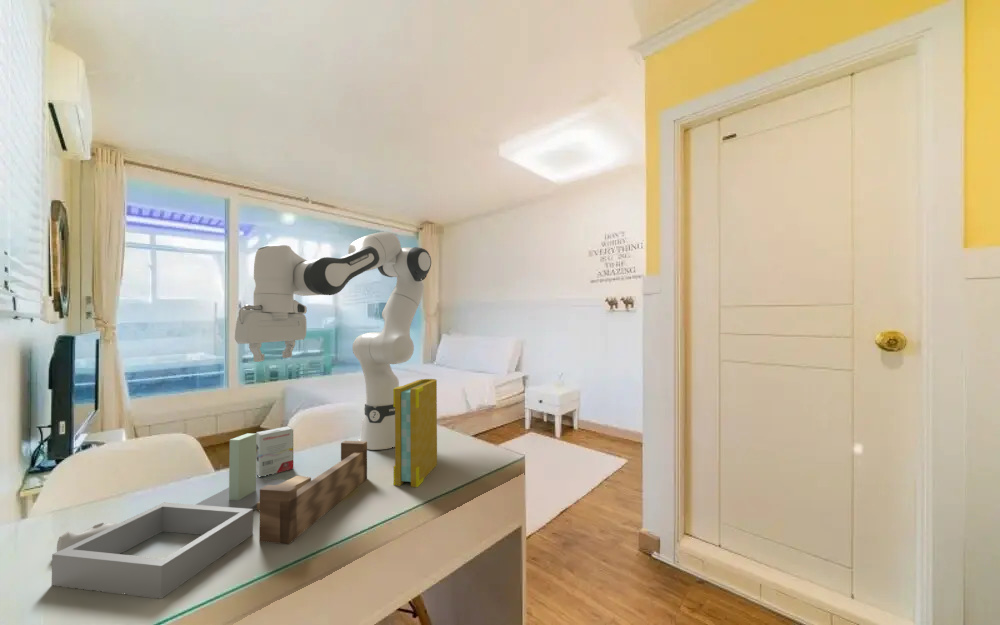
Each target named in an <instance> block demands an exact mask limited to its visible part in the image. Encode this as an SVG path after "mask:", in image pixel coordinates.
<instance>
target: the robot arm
mask: <svg viewBox="0 0 1000 625" xmlns="http://www.w3.org/2000/svg"><path fill="white" fill-rule="evenodd" d="M401 246H402V245H401V242H400V240H399V238H398V237H397V235H396V234H394V233H393V232H390V231H381V232H380V231H379V232H374V233H370V234H367V235H365V236H362V237H360V238H357V239H356V240H354V241H353V242H352V243H350V244H349V245H348V251H347V253H348V254H346V255H344V256H341V257H337V258H336V257H329V256H327V257H320V258H318V259H317V258H316V259H312V260H307V259H305V258H303V257H301V256H300V255H298V254H297V253H296V252H295V251H294V250H293V249H292V247H291V246H290V245H286V244H269V245H264V246H261V247H259V248H257V250H256V253H255V256H254V263H253V264H254V265H253V280H254V283H255V287H254V291H253V305H250V304H245V305H243V306H242V307H240V309H238V314H237V315H238V316H237V320H236V323H235V329H234V330H235V331H234V340H235V342H236V343H237V344H238V345H239V344H240V345H244V344H245V345H248V346H249V347H248V349H249V350H250V352H251V354H252V355H253V362H254V363H255V362H257V363H260V362H264V361H265V353H262V350H261V348H262V344H263V343H274V342H275V343H277V342H284V345H285V348H284V350H282V351H281V352H282V353H281V354H282V355H281V356H282V358H283V359H289V358H292V357H293V350H294V348H295V346H296V341H303V340H305V338H306V336H307V327H308V326H307V317H306V315H305V314H307V311H308V310H307V309H308V308H307V306H306V305H304V304H303V303H300V302H299V301H297V300H296V299H294V298H295V297H294V295H297V296H301V297H302V296H303V297H304V296H333V295H336V294H338V293H340V292H342V290H343V289H344V288H345V287H346V285H348V282H350V281H351V280H352V279H354V278H356V277H357V276H359V275H360V274H363V273H364V272H368V271H371V270H375V269H377V270H378V271H379V273H380V274H381V275H382V276H384V277H387V278H396V283H395V287H394V288H393V290H392V291H391V294H390V295H389V297H388V299H387V301H386V304H385V305H384V307H383V310H382V312H381V316H382V319H383V321H384V325H383V328H382V330H381V331H380V332H379V331H378V332H376V331H375V332H373V331H372V332H366V333H362V334H360V335H358V336H357V337H356V338H355V339H354V341H353V343H352V353H353V354H354V356H355V357H356V359H357V360H358V362H359V364H360V367H361V369H362V373H363V376H364V381H365V382H364V383H365V404H364V409H363V411H364V415H365V416H364V417H363V418H362V419H361V425H360V426H361V427H360V435H359V438H357V440H356V441H366V442H367V450H370V451H371V450H372V451H373V450H374V451H375V450H376V451H377V450H387V449H393V448H395V407H393V389H394V388H397V387H399V386H400V384H399V383H400V382H399V378H398V377H397V375H395V373H394V371H393V370H392V367H391V365H397V364H398V365H399V364H402V363H406V362H408V361H409V360H410V359H411V358H412V356H413V354H414V350H415V349H414V348H415V345H414V342H413V340H412V338H411V336H410V335H411V334H410V333H411V332H410V329H411V326H412V322H413V321H414V318H415V315H416V312H417V309H418V308H419V306H420V303H421V300H422V297H423V292H424V288H425V287H424V282H422V281H424V280H425V279H426V278H427V275H428V273H429V272H430V270H431V267H432V258H431V255H430V253H429V251H428V250H427V249H426V248H423V247H418V246H415V247H408V246H407V247H401ZM392 447H393V448H392Z"/></svg>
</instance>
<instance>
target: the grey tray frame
mask: <svg viewBox="0 0 1000 625" xmlns="http://www.w3.org/2000/svg"><path fill="white" fill-rule="evenodd" d="M253 519H254V510H253V509H246V508H233V507H219V506H206V505H195V504H189V503H177V502H176V503H175V502H163V503H160V504H158V505H156V506H153V507H152V508H150V509H147V510H145V511H143V512H140V513H139V514H136V515H134V516H133V517H130V518H128V519H125V520H124V521H121V522H119V523H117V525H115V526H112V527H110V528H108V529H106V530H104V531H102V532H99V533H97V534H95V535H93V536H91V537H89V538H87V539H84V540H82V541H80V542H78V543H76V544H74V545H71V546H69V547H67V548H65V549H63V550H61V551H58V552H57V551H56V552H55V553H52V555H51V586H52V585H54V586H53V587H59V586H62V587H61V588H67V587H71V588H70V589H75V588H78V589H77V590H83V589H84V591H85V590H86V591H92V590H98V591H97V592H100V591H102V592H101V593H109V594H118V595H125V594H129V595H128V596H134V597H140V598H141V597H144V598H151V599H157V598H159V599H158V600H161V599H160V598H162V597H163V598H164V597H166V596H167V595H169V594H170V593H172V592H173V591H175V590H176V589H177V588H179V587H180V586H181V585H183V584H185V583H186V582H187V581H189V580H190V579H192V578H193V577H194V576H196V575H197V574H199V573H200V572H201V571H202V570H204V569H206V568H207V567H208V566H210V565H211V564H212V563H214V562H216V561H217V560H218V559H220V558H221V557H222V556H224V555H225V554H227V553H228V552H230V551H232V549H234V548H235V547H237V546H238V545H239V544H241V543H242V542H244V541H245V540H247V539H248V538H249V537H251V536H252V535H253V528H254V520H253ZM163 532H164V533H165V532H168V533H178V534H179V533H180V534H190V535H199V536H198V537H197V538H196V539H194V540H192V541H190V542H189V543H187V544H186V545H184V546H183V547H181V548H179V549H177V550H176V551H174V552H173V553H170V554H169V555H167V556H166V557H164V558H163V557H162V558H161V557H160V558H158V557H151V556H150V557H149V556H141V555H131V554H122V553H124V552H127V551H128V550H130V549H131V548H133V547H135V546H137V545H139V544H141V543H143V542H145V541H146V540H149V539H150V538H153V537H154V536H157V535H158V534H159V533H163ZM55 585H56V586H55ZM122 593H123V594H122ZM124 593H125V594H124ZM163 598H162V599H163Z"/></svg>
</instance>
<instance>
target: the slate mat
mask: <svg viewBox="0 0 1000 625" xmlns="http://www.w3.org/2000/svg"><path fill="white" fill-rule="evenodd" d="M287 480H288V479H277V478H264V477H261V478H259V477H256V491H254V492H252V493H251V494H249V495H247V496H245V497H244V498H242V499H240V500H229V487H227V488H225V489H223V490H221V491H219V492H218V493H214V494H213V495H211V496H210V497H209V496H208V497H207V498H205V499H203V500H202V501H200V502H198V503H195V504H194V505H206V506H219V507H233V508H246V509H253V511H255V510H257V509H256V508H257V502H259V501H260V489H261V488H263V487H265V486H267V485H279V484H281V483H283V482H285V481H287Z"/></svg>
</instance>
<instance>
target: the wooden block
mask: <svg viewBox="0 0 1000 625" xmlns="http://www.w3.org/2000/svg"><path fill="white" fill-rule="evenodd" d="M286 480H287V481H285V482H283V483H281V484H279V486H295V487H297V490H298V489H299V488H301V487H302V486H304V485H306V484H307V483H309V482H310V481H312V477H309V476H303V475H295V476H293V477H292V478H289V479H286ZM259 510H260V501H259V502H257V509H256V511H259Z"/></svg>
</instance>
